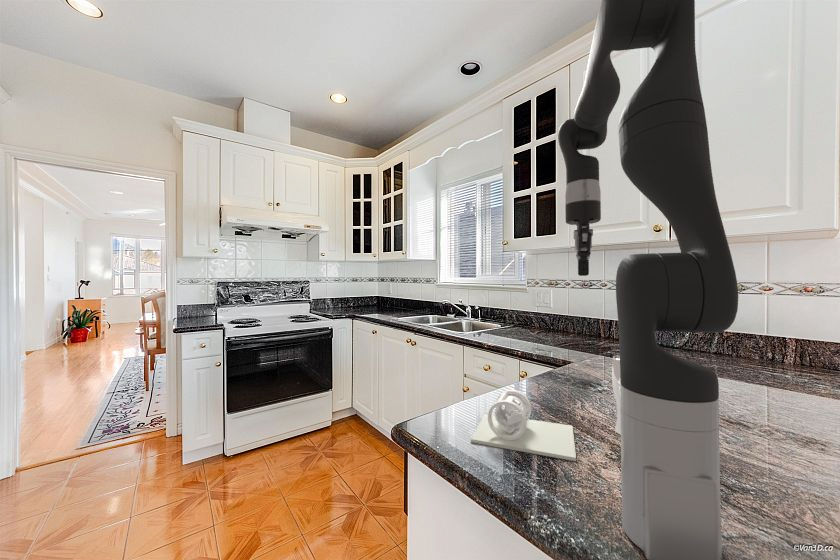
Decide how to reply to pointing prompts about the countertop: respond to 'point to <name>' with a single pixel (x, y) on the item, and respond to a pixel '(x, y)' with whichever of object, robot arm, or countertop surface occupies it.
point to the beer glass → (617, 390)
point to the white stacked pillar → (510, 414)
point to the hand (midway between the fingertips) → (583, 275)
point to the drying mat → (531, 438)
